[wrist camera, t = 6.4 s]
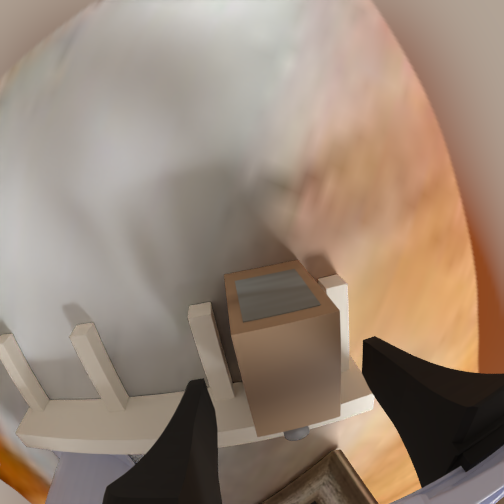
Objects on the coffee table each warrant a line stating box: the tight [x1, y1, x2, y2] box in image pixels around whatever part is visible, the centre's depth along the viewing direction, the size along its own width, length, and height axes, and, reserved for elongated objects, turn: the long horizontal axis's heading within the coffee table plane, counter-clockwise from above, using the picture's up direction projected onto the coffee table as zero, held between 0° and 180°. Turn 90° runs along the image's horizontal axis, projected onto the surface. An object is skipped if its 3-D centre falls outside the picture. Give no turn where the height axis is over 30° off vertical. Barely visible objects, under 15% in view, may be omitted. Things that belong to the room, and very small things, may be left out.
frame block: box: [224, 260, 341, 437], centre depth 14 cm, size 6×4×6 cm, turn 9°
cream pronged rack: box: [0, 274, 375, 455], centre depth 15 cm, size 8×24×5 cm, turn 100°
